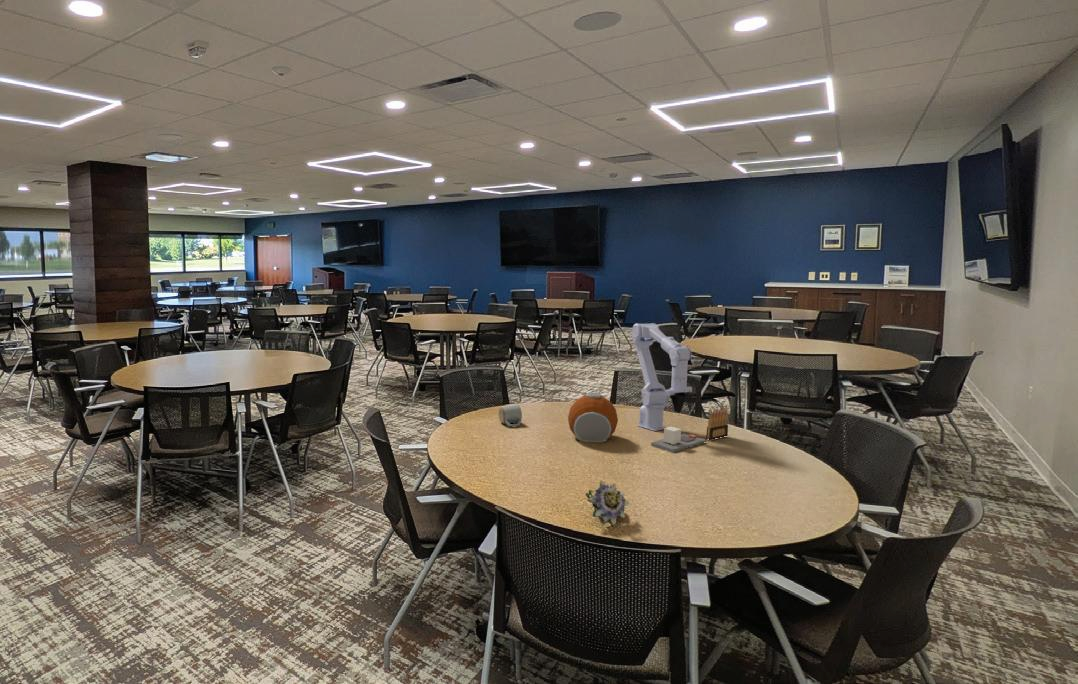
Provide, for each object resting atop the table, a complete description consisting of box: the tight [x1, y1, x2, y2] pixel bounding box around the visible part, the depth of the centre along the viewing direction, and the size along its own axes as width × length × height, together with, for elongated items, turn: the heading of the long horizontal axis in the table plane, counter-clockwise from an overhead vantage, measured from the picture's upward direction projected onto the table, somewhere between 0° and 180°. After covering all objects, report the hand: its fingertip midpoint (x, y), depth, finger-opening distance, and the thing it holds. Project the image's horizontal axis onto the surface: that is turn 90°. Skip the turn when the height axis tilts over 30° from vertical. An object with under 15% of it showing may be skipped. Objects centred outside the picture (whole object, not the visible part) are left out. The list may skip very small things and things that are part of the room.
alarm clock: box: [567, 392, 619, 443], centre depth 221 cm, size 19×18×17 cm
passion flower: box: [585, 480, 630, 526], centre depth 151 cm, size 11×11×12 cm
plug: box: [663, 426, 682, 446], centre depth 214 cm, size 4×4×7 cm
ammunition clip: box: [705, 406, 729, 441], centre depth 225 cm, size 11×2×12 cm, turn 124°
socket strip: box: [650, 433, 707, 453], centre depth 216 cm, size 10×20×2 cm, turn 130°
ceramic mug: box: [498, 404, 523, 427], centre depth 238 cm, size 11×8×8 cm
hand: (677, 411), depth 223 cm, fingers closed
